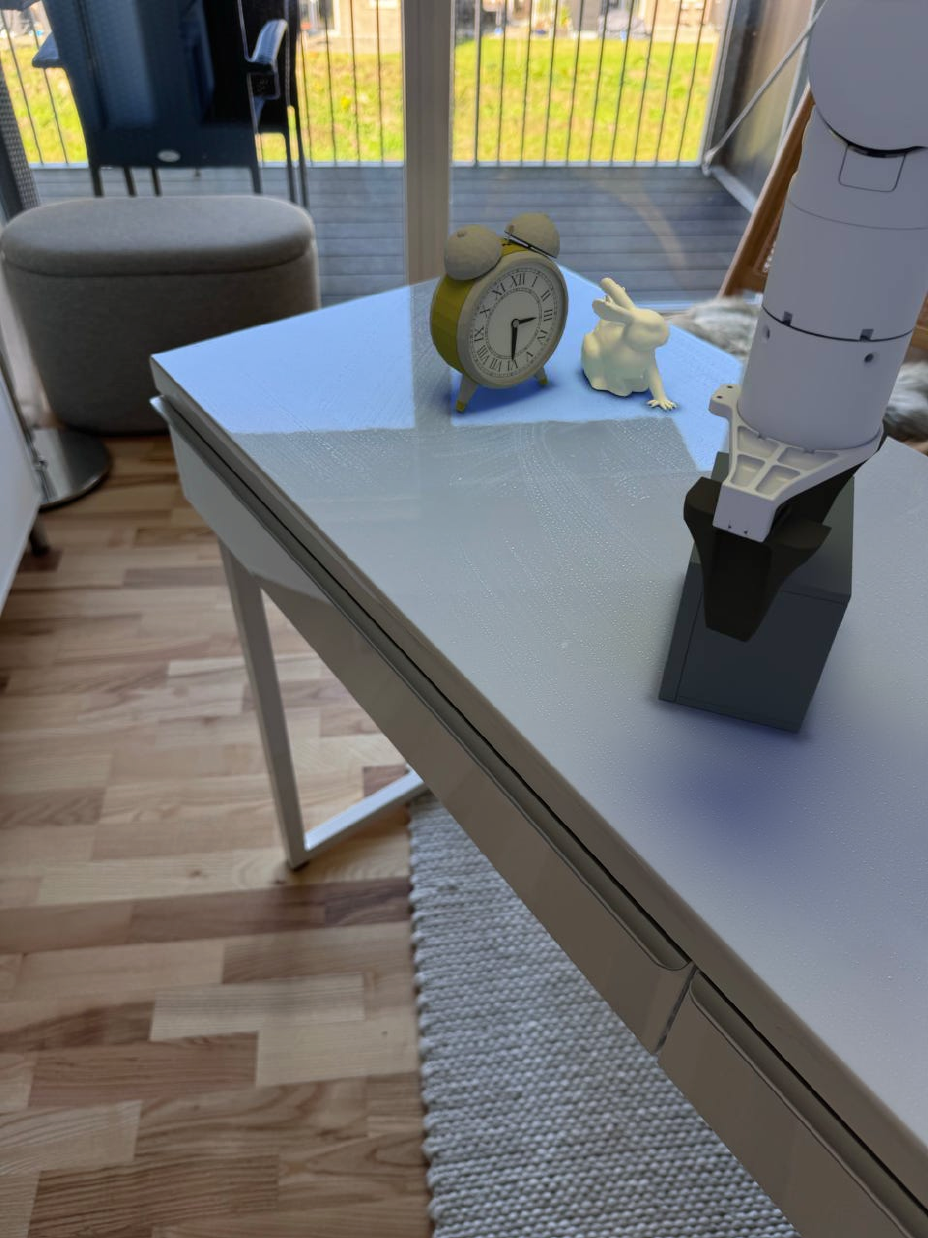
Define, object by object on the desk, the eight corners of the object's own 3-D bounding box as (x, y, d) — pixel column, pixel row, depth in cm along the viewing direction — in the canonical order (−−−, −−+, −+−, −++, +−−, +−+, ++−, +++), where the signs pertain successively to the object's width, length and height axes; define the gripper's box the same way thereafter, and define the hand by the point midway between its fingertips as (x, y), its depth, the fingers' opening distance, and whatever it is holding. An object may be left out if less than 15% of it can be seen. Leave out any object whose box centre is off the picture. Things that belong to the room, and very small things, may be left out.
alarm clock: (460, 422, 78) (464, 241, 69) (415, 391, 82) (414, 217, 73) (563, 388, 84) (581, 216, 74) (517, 361, 88) (528, 195, 78)
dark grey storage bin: (809, 606, 60) (854, 475, 54) (799, 733, 52) (851, 595, 45) (687, 580, 62) (717, 450, 56) (657, 698, 53) (689, 561, 47)
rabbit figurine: (677, 410, 81) (698, 302, 75) (599, 421, 79) (614, 311, 73) (619, 354, 90) (633, 253, 83) (547, 362, 88) (557, 260, 81)
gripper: (793, 240, 42) (730, 494, 50) (666, 350, 32) (615, 638, 41) (957, 274, 39) (860, 537, 48) (869, 404, 29) (768, 702, 38)
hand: (756, 588), depth 44 cm, fingers open, 7 cm apart
